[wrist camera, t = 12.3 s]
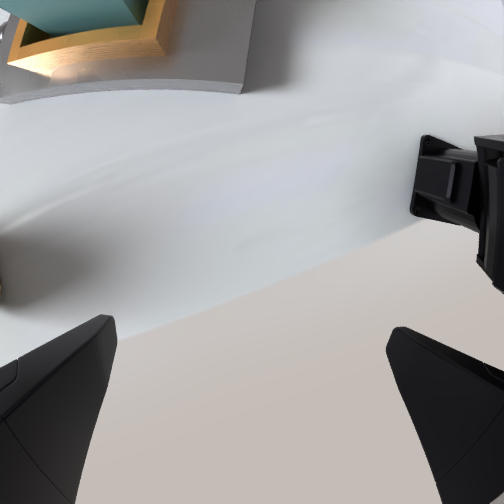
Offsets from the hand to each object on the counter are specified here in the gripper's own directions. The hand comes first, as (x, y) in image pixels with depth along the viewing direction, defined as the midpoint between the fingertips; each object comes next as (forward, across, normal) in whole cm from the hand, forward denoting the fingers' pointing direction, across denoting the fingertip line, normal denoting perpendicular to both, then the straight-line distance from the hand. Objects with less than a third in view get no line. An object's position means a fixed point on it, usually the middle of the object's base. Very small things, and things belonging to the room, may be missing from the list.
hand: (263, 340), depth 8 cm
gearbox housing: (+12, +10, -15) cm, 22 cm away
